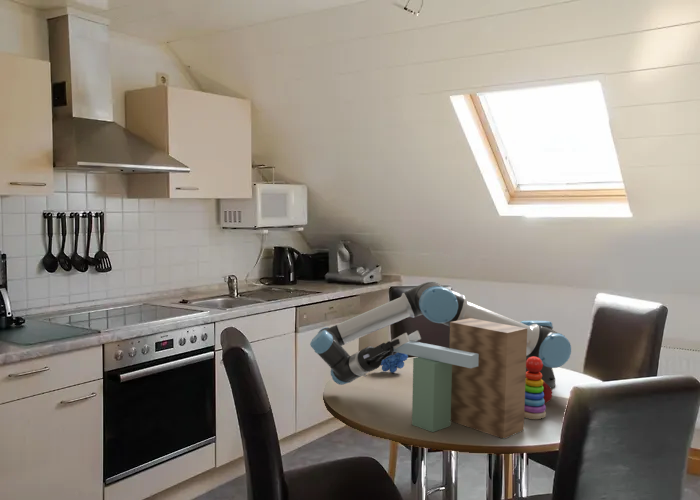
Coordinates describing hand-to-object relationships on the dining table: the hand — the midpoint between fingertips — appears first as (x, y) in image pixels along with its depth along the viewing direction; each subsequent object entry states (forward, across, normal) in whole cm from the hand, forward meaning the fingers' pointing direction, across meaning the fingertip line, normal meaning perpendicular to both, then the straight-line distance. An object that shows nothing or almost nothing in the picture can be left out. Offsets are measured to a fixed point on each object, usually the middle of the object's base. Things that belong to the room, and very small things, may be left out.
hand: (413, 335), depth 193 cm
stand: (+3, -12, -31) cm, 34 cm away
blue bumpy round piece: (-47, -33, -2) cm, 58 cm away
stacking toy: (+7, -30, -34) cm, 46 cm away
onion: (+4, -43, -32) cm, 53 cm away
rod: (+4, 0, -8) cm, 9 cm away
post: (-6, 0, -26) cm, 27 cm away
